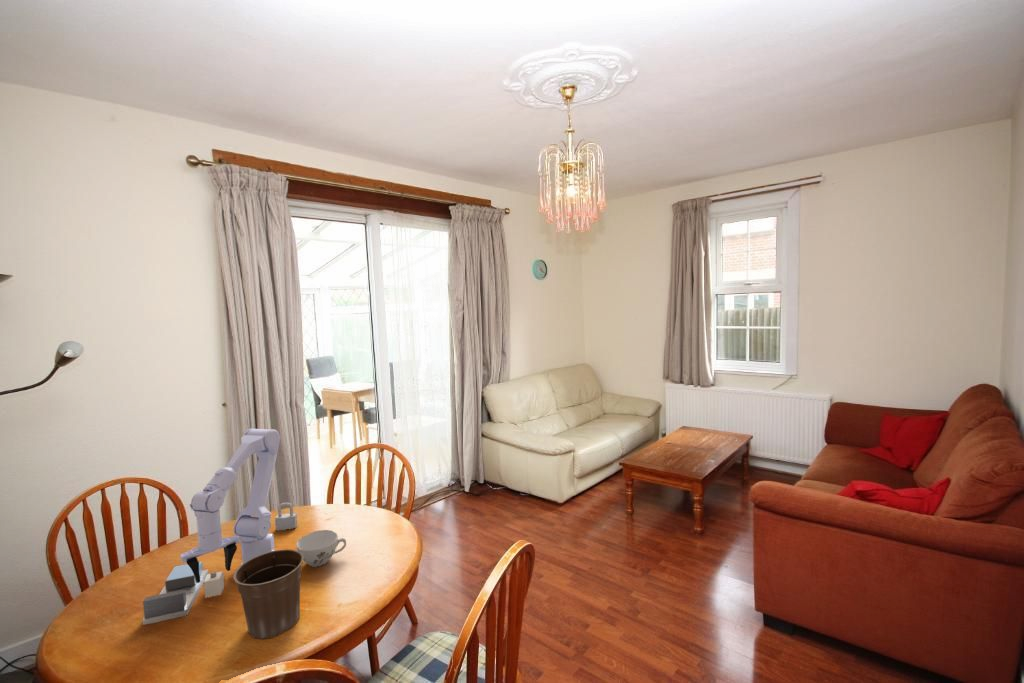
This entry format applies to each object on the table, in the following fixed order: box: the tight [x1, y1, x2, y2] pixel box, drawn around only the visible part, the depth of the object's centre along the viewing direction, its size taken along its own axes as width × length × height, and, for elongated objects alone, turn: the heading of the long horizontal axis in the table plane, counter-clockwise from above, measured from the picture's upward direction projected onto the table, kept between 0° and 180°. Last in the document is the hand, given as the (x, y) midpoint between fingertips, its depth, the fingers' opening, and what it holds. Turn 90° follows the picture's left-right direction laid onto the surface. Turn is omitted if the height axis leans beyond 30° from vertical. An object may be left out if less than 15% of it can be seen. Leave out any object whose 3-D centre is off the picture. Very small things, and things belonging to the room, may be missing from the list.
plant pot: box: [233, 548, 304, 640], centre depth 120 cm, size 16×16×16 cm
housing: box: [203, 571, 225, 599], centre depth 134 cm, size 4×4×6 cm
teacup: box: [295, 529, 347, 568], centre depth 149 cm, size 15×12×8 cm
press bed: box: [142, 568, 209, 626], centre depth 132 cm, size 10×21×6 cm, turn 20°
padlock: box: [274, 502, 298, 531], centre depth 173 cm, size 7×4×10 cm, turn 99°
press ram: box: [164, 560, 204, 591], centre depth 138 cm, size 7×8×3 cm
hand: (213, 575), depth 134 cm, fingers open, 7 cm apart
